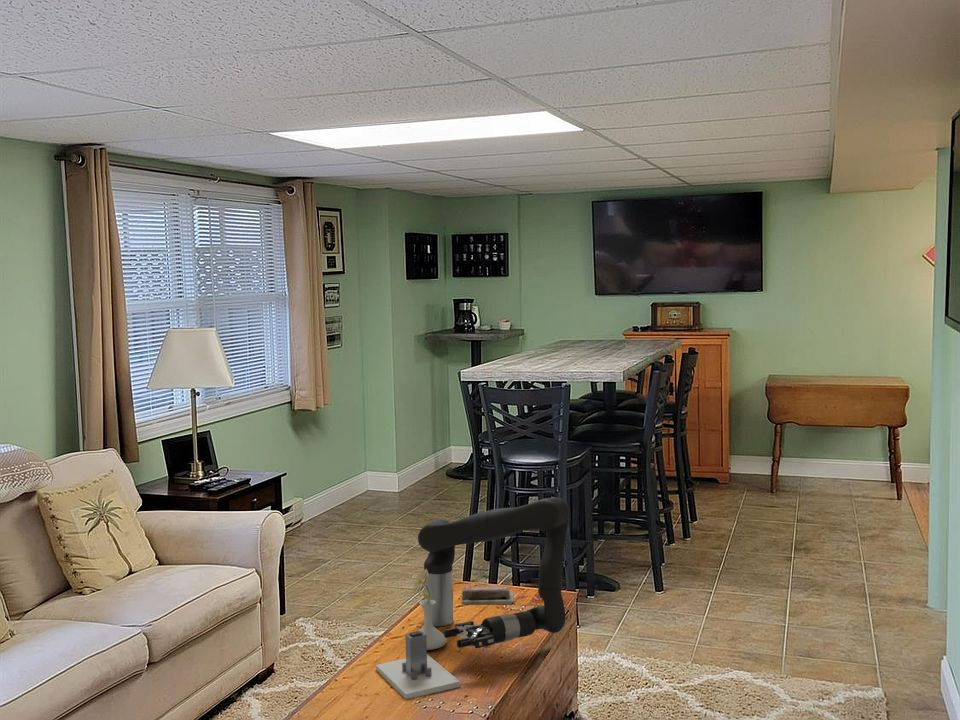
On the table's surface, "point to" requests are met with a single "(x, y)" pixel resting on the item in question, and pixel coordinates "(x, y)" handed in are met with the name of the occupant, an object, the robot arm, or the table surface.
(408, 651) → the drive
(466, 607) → the table surface
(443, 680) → the tray
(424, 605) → the flower in vase
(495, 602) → the packaged product
